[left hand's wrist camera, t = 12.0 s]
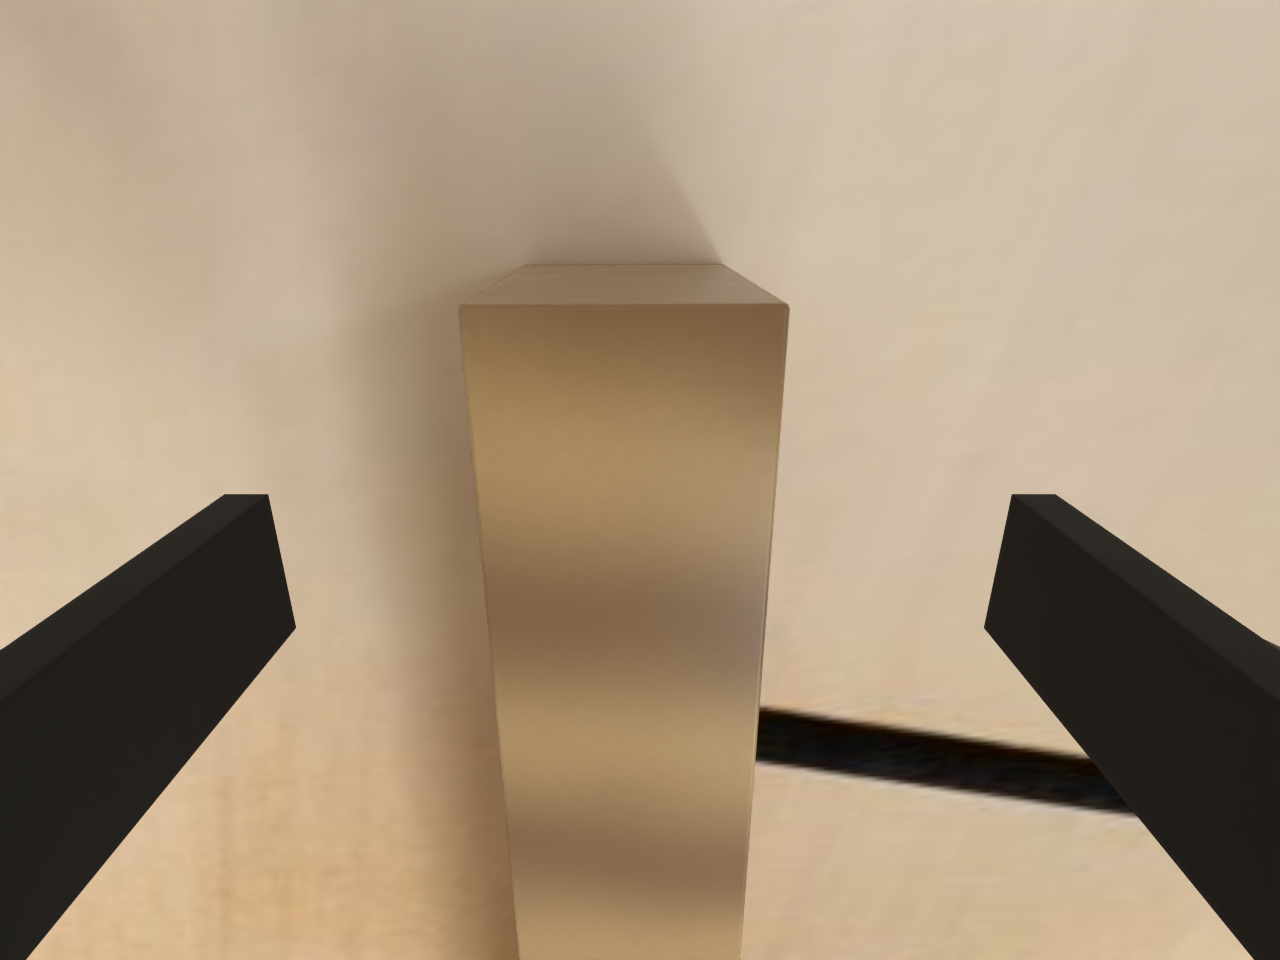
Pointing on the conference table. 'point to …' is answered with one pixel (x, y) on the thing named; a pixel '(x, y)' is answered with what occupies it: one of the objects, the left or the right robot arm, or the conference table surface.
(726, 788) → the beam
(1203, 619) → the left robot arm
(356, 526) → the conference table surface
